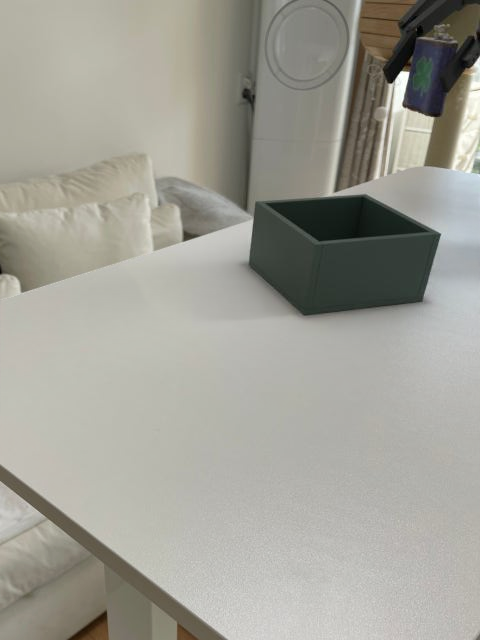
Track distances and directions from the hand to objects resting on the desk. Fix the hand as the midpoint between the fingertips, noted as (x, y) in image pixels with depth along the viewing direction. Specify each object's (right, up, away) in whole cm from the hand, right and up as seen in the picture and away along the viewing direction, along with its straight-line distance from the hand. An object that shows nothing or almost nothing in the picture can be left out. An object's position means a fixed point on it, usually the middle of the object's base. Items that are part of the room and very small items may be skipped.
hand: (414, 80), depth 89 cm
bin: (-15, -31, -14) cm, 37 cm away
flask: (+3, -3, +4) cm, 5 cm away
